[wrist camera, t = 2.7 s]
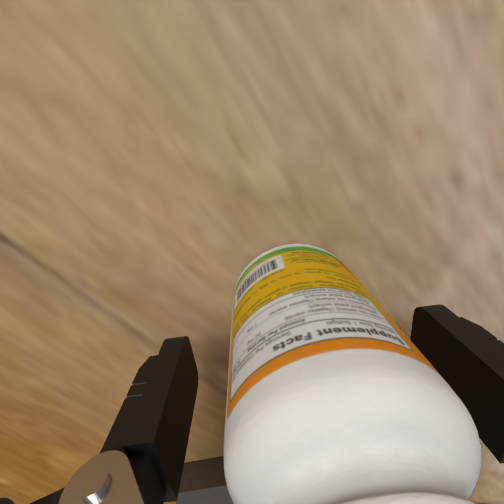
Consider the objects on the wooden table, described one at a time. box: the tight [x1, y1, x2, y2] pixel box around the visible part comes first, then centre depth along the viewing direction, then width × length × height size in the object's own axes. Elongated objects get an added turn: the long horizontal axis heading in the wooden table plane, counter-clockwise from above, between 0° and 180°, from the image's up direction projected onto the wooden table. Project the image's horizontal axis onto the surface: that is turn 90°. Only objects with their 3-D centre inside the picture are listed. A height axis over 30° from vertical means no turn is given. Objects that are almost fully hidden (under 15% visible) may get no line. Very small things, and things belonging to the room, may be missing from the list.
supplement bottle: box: [224, 244, 481, 504], centre depth 8 cm, size 5×5×10 cm
